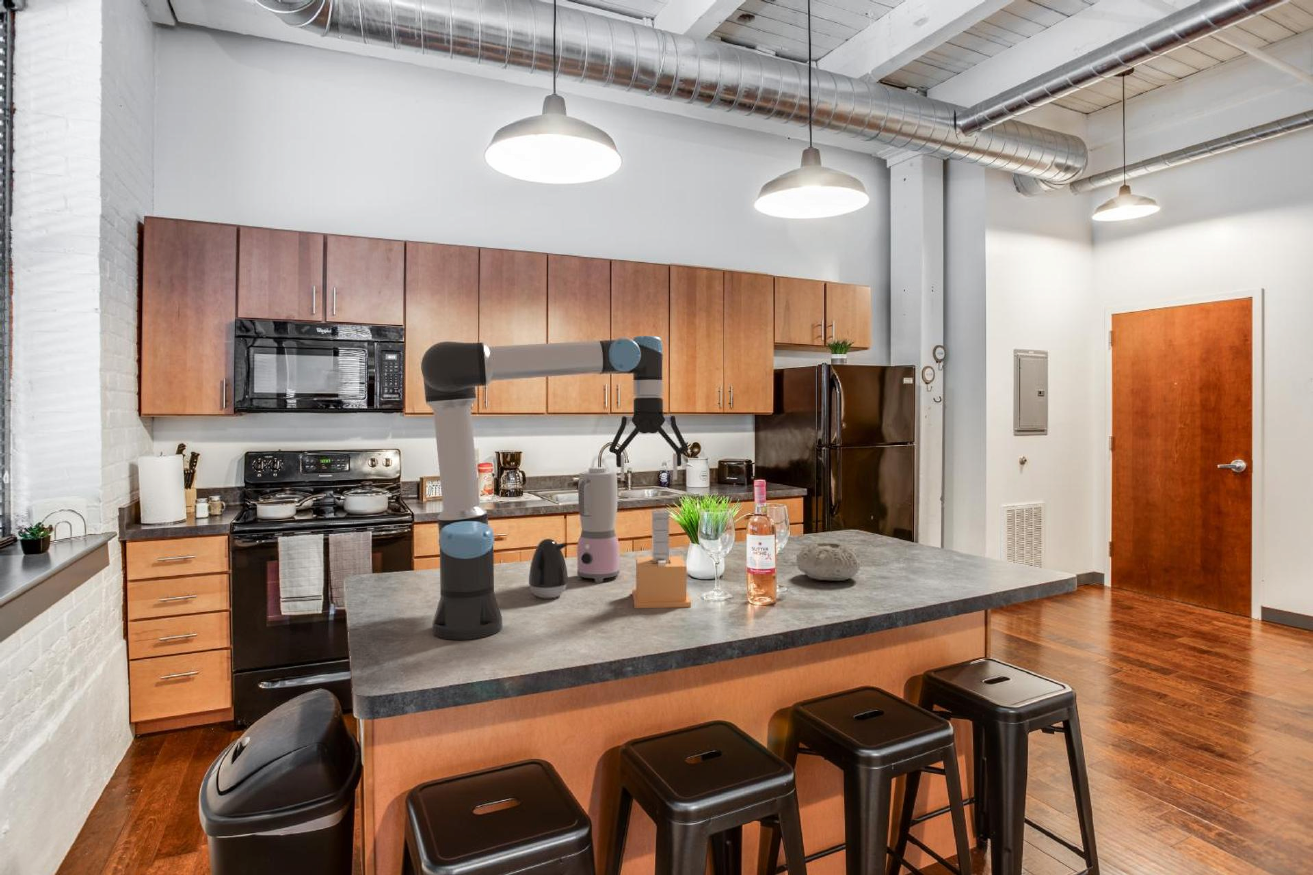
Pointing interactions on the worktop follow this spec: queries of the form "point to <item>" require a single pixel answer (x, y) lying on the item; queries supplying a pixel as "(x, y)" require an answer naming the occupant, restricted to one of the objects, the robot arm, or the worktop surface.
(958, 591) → the worktop surface
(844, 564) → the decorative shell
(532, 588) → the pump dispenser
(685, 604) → the housing
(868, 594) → the worktop surface
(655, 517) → the column
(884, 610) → the worktop surface
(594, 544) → the blender
